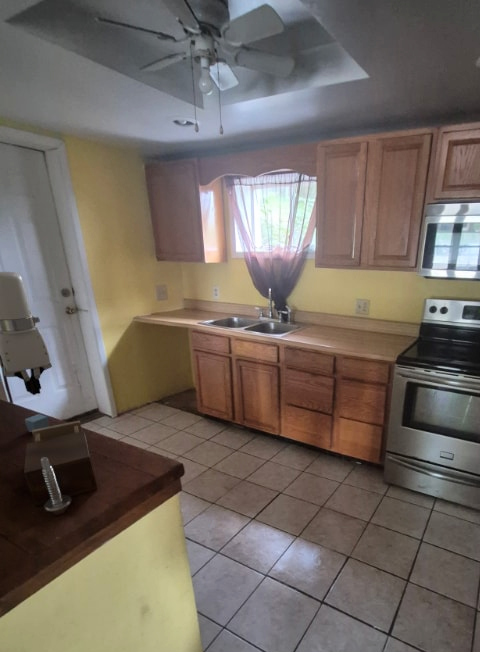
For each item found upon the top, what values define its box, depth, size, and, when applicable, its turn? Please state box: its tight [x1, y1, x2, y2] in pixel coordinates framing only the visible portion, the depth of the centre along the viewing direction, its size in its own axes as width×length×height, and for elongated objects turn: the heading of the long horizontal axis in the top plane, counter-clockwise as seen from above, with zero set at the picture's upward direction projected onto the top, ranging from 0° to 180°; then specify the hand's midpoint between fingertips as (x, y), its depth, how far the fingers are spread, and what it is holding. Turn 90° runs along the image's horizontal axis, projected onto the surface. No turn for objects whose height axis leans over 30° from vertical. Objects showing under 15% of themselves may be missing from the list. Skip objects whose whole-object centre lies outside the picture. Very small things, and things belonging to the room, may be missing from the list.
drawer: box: [31, 420, 83, 442], centre depth 93 cm, size 17×10×7 cm, turn 32°
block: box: [24, 413, 51, 433], centre depth 107 cm, size 4×4×4 cm
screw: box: [41, 457, 73, 516], centre depth 74 cm, size 13×5×5 cm
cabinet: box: [23, 430, 99, 508], centre depth 84 cm, size 14×12×9 cm
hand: (34, 392), depth 99 cm, fingers closed
